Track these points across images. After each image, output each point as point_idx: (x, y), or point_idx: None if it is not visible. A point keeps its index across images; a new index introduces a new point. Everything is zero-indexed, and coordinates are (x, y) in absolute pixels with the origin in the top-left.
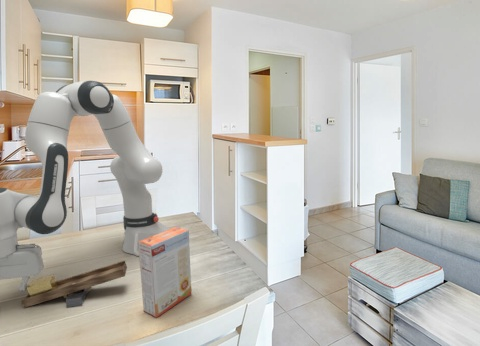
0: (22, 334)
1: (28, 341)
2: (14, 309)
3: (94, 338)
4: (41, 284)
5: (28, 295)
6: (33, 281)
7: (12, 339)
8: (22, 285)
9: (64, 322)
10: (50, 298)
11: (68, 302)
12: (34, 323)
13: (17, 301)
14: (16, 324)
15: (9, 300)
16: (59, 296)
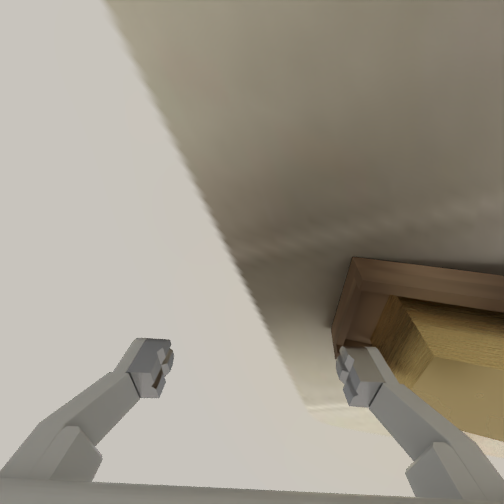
0: (346, 415)
1: (362, 431)
2: (298, 327)
3: (488, 450)
4: (490, 429)
5: (354, 310)
6: (444, 373)
7: (328, 421)
8: (375, 410)
9: None
10: None
11: None
12: None
13: (293, 279)
14: (325, 388)
15: (253, 261)
16: None
